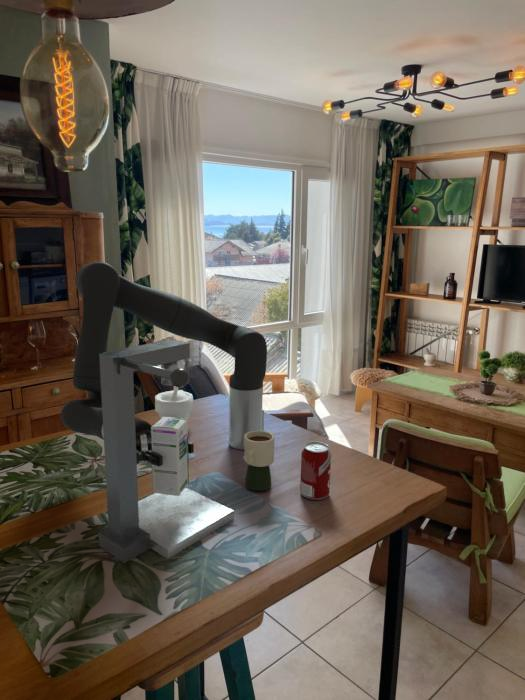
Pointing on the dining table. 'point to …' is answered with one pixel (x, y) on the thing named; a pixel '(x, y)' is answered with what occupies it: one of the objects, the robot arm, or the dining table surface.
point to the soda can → (315, 471)
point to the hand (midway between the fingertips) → (177, 454)
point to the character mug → (258, 459)
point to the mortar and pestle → (174, 401)
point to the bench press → (121, 464)
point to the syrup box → (170, 455)
